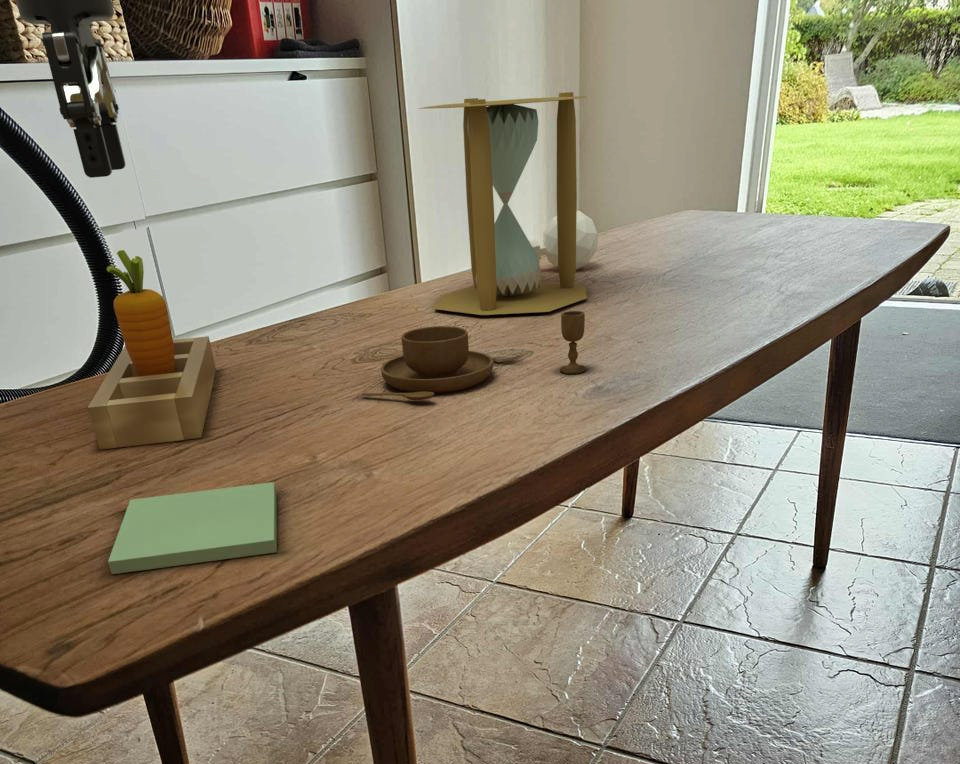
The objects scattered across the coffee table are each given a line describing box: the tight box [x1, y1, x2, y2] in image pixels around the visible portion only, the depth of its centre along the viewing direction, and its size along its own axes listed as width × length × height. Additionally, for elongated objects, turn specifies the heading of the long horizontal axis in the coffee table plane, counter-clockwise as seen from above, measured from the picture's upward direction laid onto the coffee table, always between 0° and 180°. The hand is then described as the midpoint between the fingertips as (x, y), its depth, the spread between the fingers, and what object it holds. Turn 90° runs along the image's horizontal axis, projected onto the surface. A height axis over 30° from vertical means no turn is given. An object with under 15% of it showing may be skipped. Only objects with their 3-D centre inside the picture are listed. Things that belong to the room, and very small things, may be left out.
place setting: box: [360, 310, 587, 401], centre depth 93 cm, size 18×20×6 cm
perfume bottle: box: [529, 210, 599, 271], centre depth 145 cm, size 9×9×12 cm
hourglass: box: [417, 91, 588, 316], centre depth 122 cm, size 24×22×25 cm
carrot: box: [106, 249, 175, 377], centre depth 89 cm, size 5×5×15 cm
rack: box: [87, 335, 217, 451], centre depth 92 cm, size 9×24×4 cm, turn 11°
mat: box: [107, 481, 278, 575], centre depth 65 cm, size 11×11×1 cm
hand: (107, 173), depth 82 cm, fingers open, 8 cm apart
